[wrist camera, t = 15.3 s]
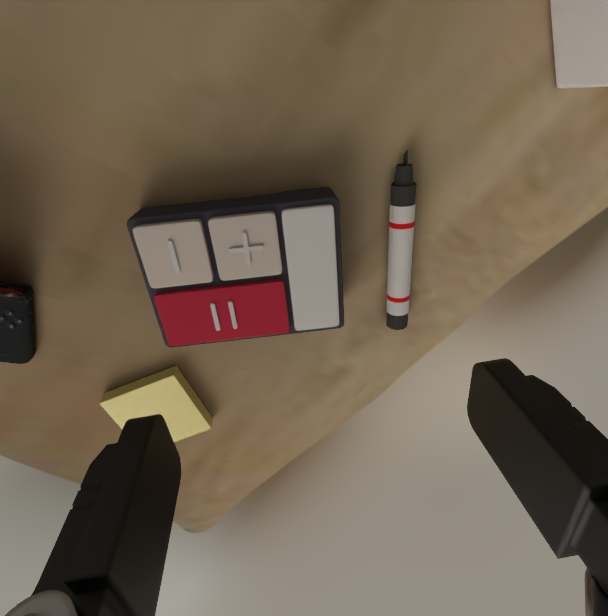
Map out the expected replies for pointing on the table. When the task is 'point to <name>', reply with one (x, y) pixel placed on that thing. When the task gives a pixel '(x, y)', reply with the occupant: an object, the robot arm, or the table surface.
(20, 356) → the handheld console
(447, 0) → the table surface
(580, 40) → the medicine bottle
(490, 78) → the table surface
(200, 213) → the calculator
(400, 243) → the marker
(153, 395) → the sticky pad
